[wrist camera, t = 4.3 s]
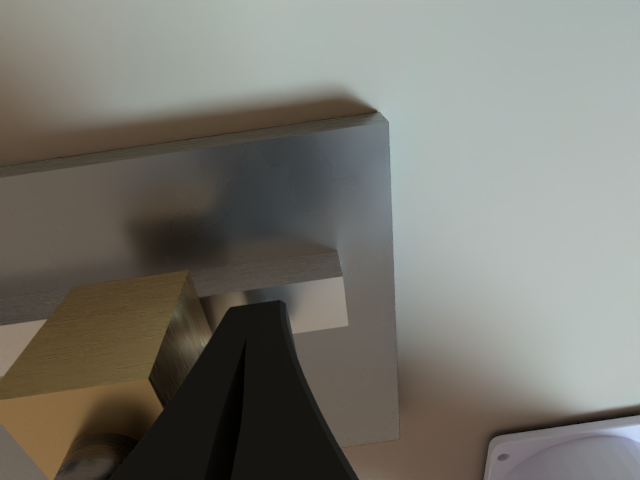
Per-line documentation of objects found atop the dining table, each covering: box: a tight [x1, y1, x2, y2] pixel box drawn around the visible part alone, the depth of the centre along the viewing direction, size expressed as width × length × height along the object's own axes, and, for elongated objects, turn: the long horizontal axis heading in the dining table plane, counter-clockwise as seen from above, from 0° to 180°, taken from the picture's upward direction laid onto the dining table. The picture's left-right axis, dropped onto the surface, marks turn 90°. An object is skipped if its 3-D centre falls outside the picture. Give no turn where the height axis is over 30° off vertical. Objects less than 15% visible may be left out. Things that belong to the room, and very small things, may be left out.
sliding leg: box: [0, 270, 212, 480], centre depth 9 cm, size 7×3×5 cm, turn 7°
